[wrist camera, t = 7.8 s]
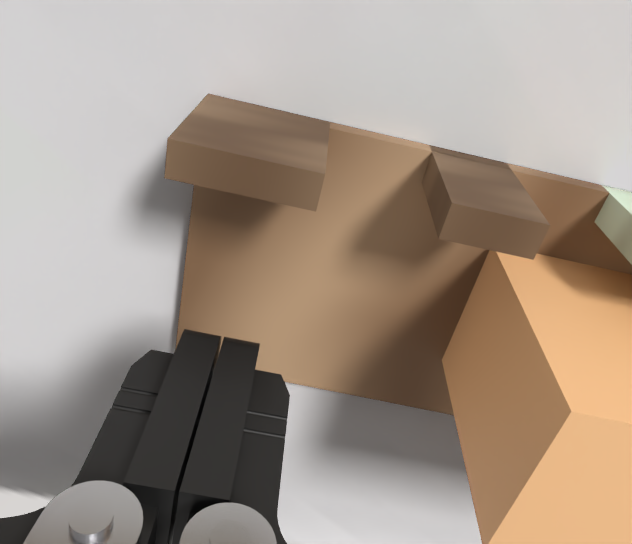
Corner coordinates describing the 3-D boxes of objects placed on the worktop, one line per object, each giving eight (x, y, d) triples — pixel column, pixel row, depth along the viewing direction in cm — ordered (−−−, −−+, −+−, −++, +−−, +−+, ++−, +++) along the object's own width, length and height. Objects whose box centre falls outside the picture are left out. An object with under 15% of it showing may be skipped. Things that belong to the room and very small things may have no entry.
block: (742, 298, 15) (948, 488, 10) (663, 405, 17) (799, 608, 12) (492, 243, 15) (571, 411, 9) (441, 360, 17) (484, 550, 11)
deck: (819, 236, 14) (943, 313, 11) (658, 445, 19) (717, 543, 16) (208, 93, 13) (167, 139, 10) (178, 349, 17) (143, 434, 14)
